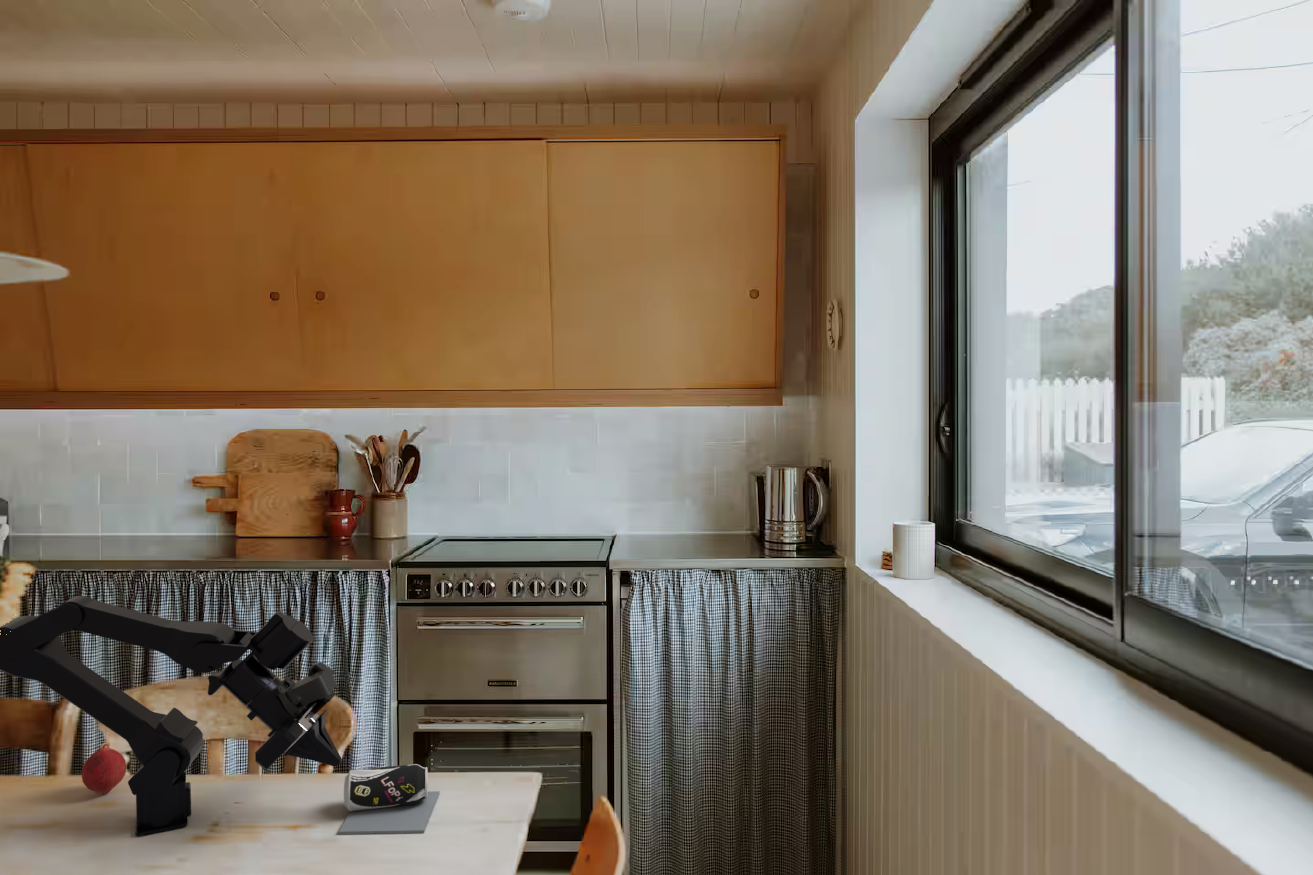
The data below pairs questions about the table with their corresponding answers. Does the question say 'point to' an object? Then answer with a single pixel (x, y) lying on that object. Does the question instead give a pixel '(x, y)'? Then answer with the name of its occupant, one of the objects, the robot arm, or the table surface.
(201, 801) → the table surface
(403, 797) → the beverage can
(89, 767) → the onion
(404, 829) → the mat
